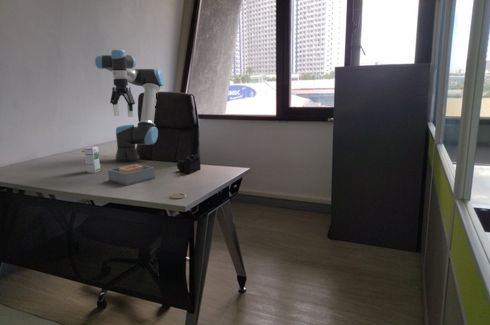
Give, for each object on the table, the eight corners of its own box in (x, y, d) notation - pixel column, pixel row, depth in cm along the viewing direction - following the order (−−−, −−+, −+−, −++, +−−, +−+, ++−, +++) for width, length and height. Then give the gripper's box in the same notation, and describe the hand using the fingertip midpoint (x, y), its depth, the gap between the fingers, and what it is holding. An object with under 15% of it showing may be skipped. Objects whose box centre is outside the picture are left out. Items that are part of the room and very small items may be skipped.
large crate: (136, 174, 204) (136, 163, 203) (154, 178, 195) (154, 167, 194) (109, 180, 191) (107, 169, 190) (126, 185, 182) (125, 174, 180)
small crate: (135, 175, 199) (134, 164, 197) (143, 177, 195) (142, 166, 193) (119, 179, 191) (118, 168, 190) (127, 181, 187) (126, 169, 186)
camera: (187, 167, 219) (187, 151, 217) (202, 169, 215) (202, 152, 213) (174, 172, 207) (173, 155, 205) (189, 174, 203) (189, 157, 200)
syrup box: (95, 172, 208) (93, 148, 205) (86, 172, 210) (83, 147, 206) (101, 170, 214) (98, 146, 211) (92, 170, 215) (89, 146, 212)
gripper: (101, 78, 208) (105, 115, 212) (128, 78, 193) (131, 117, 198) (113, 78, 214) (116, 114, 218) (139, 78, 199) (142, 116, 203)
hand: (123, 116), depth 208 cm, fingers open, 13 cm apart
